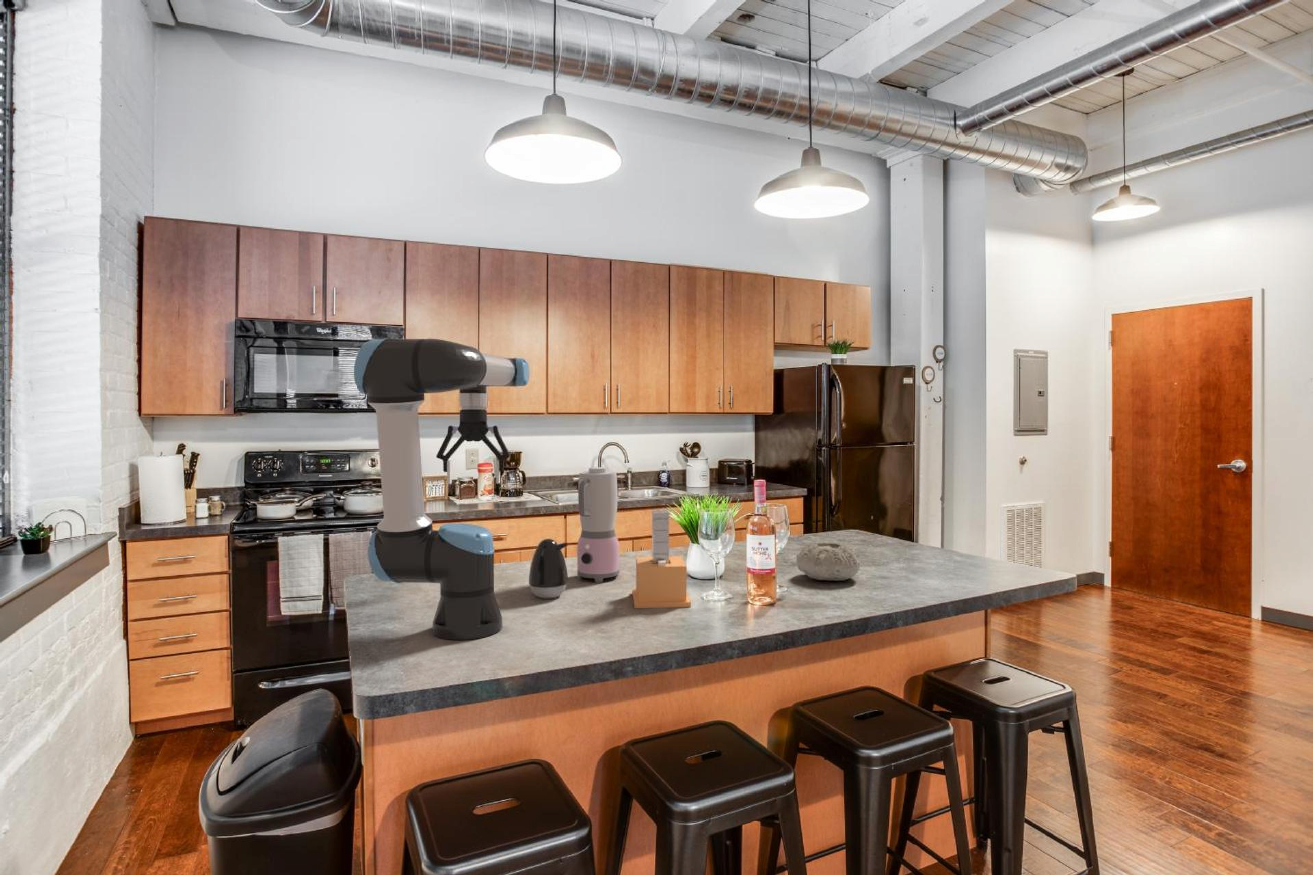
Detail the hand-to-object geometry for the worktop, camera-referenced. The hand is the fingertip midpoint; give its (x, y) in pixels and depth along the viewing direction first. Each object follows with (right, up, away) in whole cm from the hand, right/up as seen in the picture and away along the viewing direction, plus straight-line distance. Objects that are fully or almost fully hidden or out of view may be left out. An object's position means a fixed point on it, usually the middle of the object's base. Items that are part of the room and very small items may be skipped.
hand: (473, 483), depth 205 cm
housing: (+53, -29, -19) cm, 63 cm away
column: (+53, -27, -19) cm, 63 cm away
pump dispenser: (+24, -29, -15) cm, 40 cm away
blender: (+34, -28, +3) cm, 44 cm away
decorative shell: (+102, -28, +3) cm, 105 cm away
